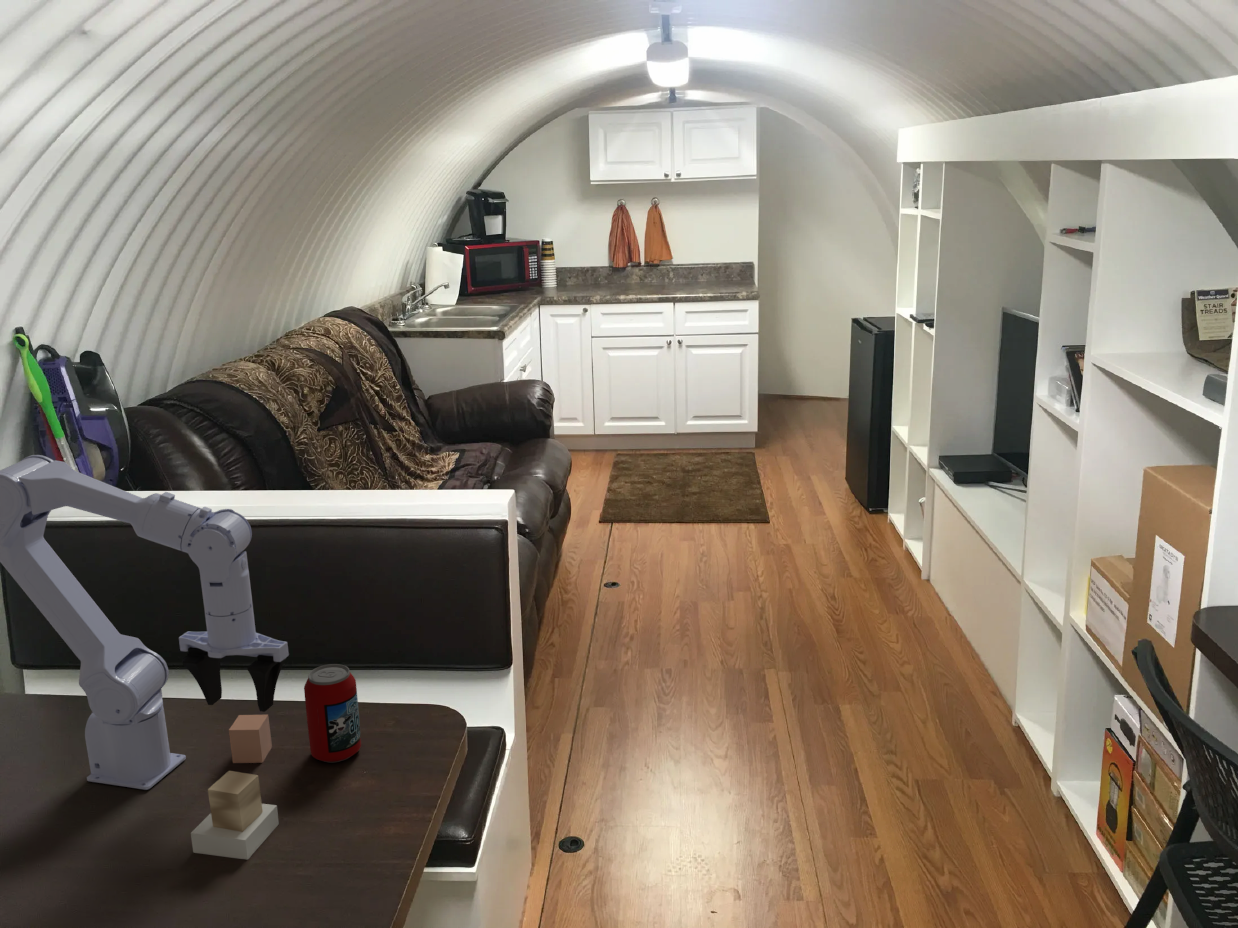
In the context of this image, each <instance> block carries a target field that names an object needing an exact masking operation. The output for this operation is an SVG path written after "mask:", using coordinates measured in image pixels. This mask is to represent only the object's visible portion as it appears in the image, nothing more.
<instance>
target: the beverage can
mask: <svg viewBox="0 0 1238 928" xmlns="http://www.w3.org/2000/svg"><path fill="white" fill-rule="evenodd" d="M307 676H308V678H307V679H306V682H305V683H304V687H303V692H304V702H305V711H306V712H305V713H306V723H307V732H308V740H309V749H310V754H311V756H312V757H313V759H316V760H319V761H321V762H325V763H331V764H332V763H339V762H342V761H346V760H348V759H349V758H351V757H352V756H354V755H355V754H357V753H358V752H359V751H360V749H361V747H362V737H361V724H360V713H359V701H358V690H357V680H356V678H355V676H354V675H353V674H352V673H351V671H350V668H349V667H348V666H347V665H343V664H338V663H330V664H324V665H320V666H318V667H315V668H314V669H312V670H311V671H310V672H309V673H308V675H307Z"/></svg>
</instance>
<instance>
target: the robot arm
mask: <svg viewBox="0 0 1238 928" xmlns="http://www.w3.org/2000/svg"><path fill="white" fill-rule="evenodd" d="M175 496H176V495H175V494H173V493H170V492H167V491H165V492H163V493H152V494H149V495H148V496H146V497H141V496H138V495H136V494H134V493H131V492H129V491H126V490H123V489H121V488H119V487H116V486H114V485H111V484H109V483H107V482H104V481H102V480H99V479H96V478H94V477H91V476H89V475H86V474H84V473H81V472H80V471H77V470H75V469H74V468H72V467H71V465H70V464H68V463H67V462H66V461H60V460H56V459H55V460H54V459H52V458H50V457H49V456H45V455H42V454H41V455H40V454H32V455H29V456H26V457H24V458H22V459H21V460H20V461H17V462H16V463H13V464H11V465H9V466H6V467H5V468H1V469H0V564H1V565H2V566H3V567H4V568H5V570H6V571H7V573H9V575H10V576H11V577H12V578H13V580H14V581H15V582H16V583H17V585H18V586H19V587H20V588H21V589H22V590H23V592H24V593H25V594H26V596H27V597H28V598H29V599H30V600H31V602H32V603H33V604H34V605H35V607H36V608H37V609H38V610H39V612H40V613H41V614H42V615H43V616H44V618H45V619H46V621H48V623H49V624H50V625H51V626H52V628H53V629H54V630H55V632H56V633H57V634H58V635H59V636H60V638H61V639H62V640H63V641H64V643H66V645H67V646H68V648H69V649H70V650H71V651H72V652H73V654H74V655H75V656H76V658H78V660H79V661H80V668H79V669H80V670H79V675H78V677H79V678H78V686H79V687H80V688H81V689H82V691H83V692H84V693H85V695H86V697H87V703H88V706H89V708H90V710H91V714H90V715H89V717H88V718H87V721H86V725H85V728H84V739H85V744H86V752H87V756H88V764H89V769H90V770H89V771H90V774H89V775H88V776H86V781H88V782H92V783H97V784H98V783H99V784H105V785H112V786H119V787H127V788H132V789H138V790H144V791H147V790H150V789H151V788H152V787H153V786H155V785H156V784H157V783H158V782H160V781H161V780H162V779H163V778H164V777H165V776H166V775H168V774H169V773H171V772H172V771H173V770H174V769H175V768H176V767H178V766H179V765H181V763H183V762H184V761H185V760H186V758H187V757H186V756H187V755H185V754H180V753H174V752H171V750H170V743H169V738H168V737H169V736H168V729H167V721H166V715H165V709H164V701H163V692H162V691H163V690H162V688H163V687H164V686H165V685H166V683H167V682H168V680H169V674H170V673H169V672H170V671H169V667H168V665H167V662H166V660H165V659H164V658H163V657H162V656H161V655H160V654H158V653H157V652H155V651H153V650H151V649H150V648H148V647H147V646H146V645H145V644H144V643H143V642H142V641H141V639H139V638H138V637H134V636H131V635H130V636H129V635H125V634H123V633H122V634H121V633H120V632H119V631H118V629H116V627H115V626H114V624H113V622H111V621H110V620H109V619H108V617H107V616H106V615H105V613H104V612H103V610H101V608H100V607H99V606H98V605H97V603H96V602H95V601H94V599H93V598H92V597H91V596H90V594H89V593H88V592H87V591H86V589H85V588H84V587H83V585H82V584H81V583H80V582H79V581H78V579H77V577H75V575H73V572H72V571H70V569H69V568H68V567H67V566H66V563H64V562H63V561H62V559H61V558H60V556H58V554H57V553H56V552H55V551H54V549H53V547H52V546H51V545H50V544H49V543H48V542H47V541H46V539H45V537H44V534H45V531H46V525H47V521H48V517H49V515H50V513H51V512H52V511H53V510H57V509H59V508H65V507H69V508H73V509H76V510H80V511H83V512H88V513H91V514H94V515H98V516H101V517H106V518H109V519H112V520H116V521H120V522H123V523H127V524H130V525H131V526H132V528H133V530H134V532H135V534H136V536H137V537H140V538H142V539H145V540H148V541H150V542H154V543H155V544H159V545H162V546H165V547H169V548H172V549H174V550H177V551H181V552H182V553H185V554H188V556H189V558H190V560H192V562H193V563H194V564H195V565H196V566H197V567H198V570H199V575H200V576H199V577H200V578H199V579H200V585H201V592H202V599H203V600H202V601H203V608H204V618H205V625H206V631H186V632H184V633H183V634H182V635H180V636H179V637H178V642H179V644H178V645H179V649H180V652H187V655H186V656H185V657H183V658H182V661H181V662H182V665H183V666H184V667H185V668H186V669H187V671H188V672H189V673H190V674H191V675H192V676H193V678H194V679H195V681H196V683H197V685H198V686H199V688H200V690H201V692H202V694H203V696H204V699H205V701H206V703H207V705H208V706H214V705H215V704H216V703H217V702H219V701H220V700H221V699H222V697H223V694H222V693H223V688H222V679H221V659H223V658H225V657H226V656H246V657H254V658H257V660H255V661H253V662H251V664H249V665H248V666H247V671H248V673H249V675H250V677H251V680H252V682H253V684H254V688H255V693H256V700H257V707H258V710H259V712H263V713H265V712H267V711H268V710H269V709H270V708H271V707H273V706H274V699H275V692H276V688H277V682H278V679H279V676H280V673H281V671H282V668H283V665H284V663H285V662H286V659H287V657H289V655H290V653H289V646H288V641H283V640H278V639H276V638H273V637H270V636H267V635H264V634H262V633H259V632H257V631H256V625H255V624H256V623H255V614H254V603H253V596H252V589H251V580H250V579H251V578H250V571H249V562H248V554H247V551H246V550H245V549H247V547H248V546H249V545H250V544H251V543H250V542H251V540H252V538H253V536H252V535H253V531H252V527H251V524H250V523H249V521H248V519H246V518H245V517H244V516H243V515H242V514H240V513H239V512H236V511H235V510H233V509H232V508H223V509H218V510H217V511H213V510H212V508H210V507H207V506H203V507H199V506H196V505H193V504H190V503H186V502H184V501H182V500H178V499H175ZM244 550H245V551H244Z"/></svg>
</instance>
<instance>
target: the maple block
mask: <svg viewBox="0 0 1238 928" xmlns="http://www.w3.org/2000/svg"><path fill="white" fill-rule="evenodd" d="M207 795H208V801H209V808H210V813H211V816H212V824H213V827H217V828H223V829H229V830H234V831H240V832H243V831H244V830H245V829H246V828H247V827H248V826H249V825H250V824H251V823H252V822H253V821H254V820H255V819H256V818H257V817H258V816H259V815H260V814H261V813H262V812H263V810H262V804H263V803H262V797H261V795H262V794H261V787H260V779H259V775H257V774H254V773H253V774H251V773H246V772H240V771H234V770H228V771H227V772H225V774H223V775H222V776H221V777H220V778H219V779H217V780H216V781H215V782H214V783H213V784H212V785H211V786H210V787H209V788H207Z"/></svg>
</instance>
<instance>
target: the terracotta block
mask: <svg viewBox="0 0 1238 928" xmlns="http://www.w3.org/2000/svg"><path fill="white" fill-rule="evenodd" d="M269 718H270V717H269V714H238V715H237V717H236V719H235V720H234V722H233V723H232V724H231V726H230V728H228V736H229V742H230V751H231V761H232V764H249V763H250V764H252V763H253V764H257V763H258V764H259V763H260V764H261V763H264V761H265V760H266V758H267V756H268V754H269V753H270V751H271V749H272V748H273V744H272V737H271V736H272V735H271V734H272V733H271V729H270V728H271V727H270V720H269Z"/></svg>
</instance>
